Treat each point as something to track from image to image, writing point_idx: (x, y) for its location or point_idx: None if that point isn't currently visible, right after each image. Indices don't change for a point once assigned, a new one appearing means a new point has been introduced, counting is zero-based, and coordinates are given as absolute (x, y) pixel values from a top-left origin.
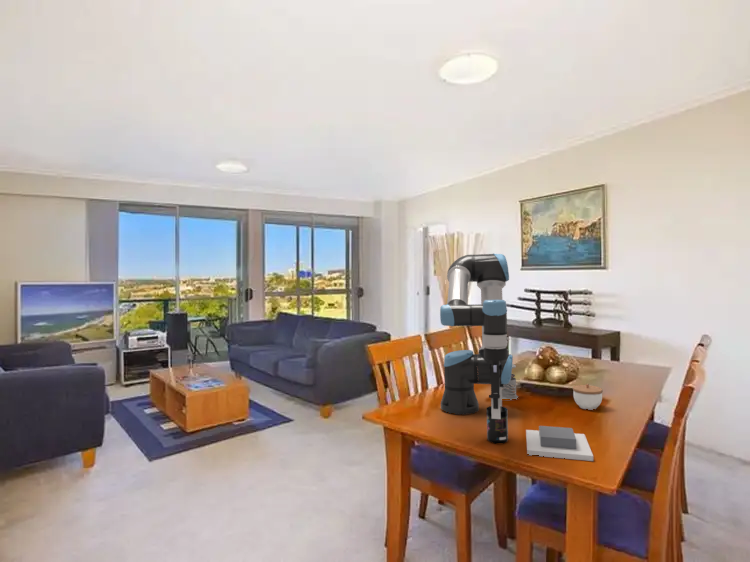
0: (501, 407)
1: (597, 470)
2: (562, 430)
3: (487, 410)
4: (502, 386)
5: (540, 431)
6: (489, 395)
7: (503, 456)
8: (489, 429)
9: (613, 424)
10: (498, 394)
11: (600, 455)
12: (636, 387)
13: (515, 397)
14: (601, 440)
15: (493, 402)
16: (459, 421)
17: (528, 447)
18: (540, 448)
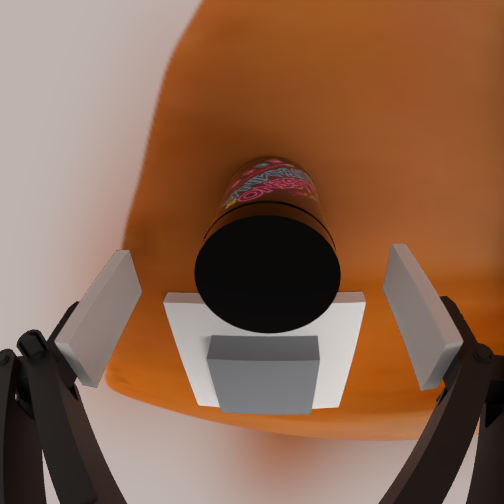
0: (306, 305)
1: (158, 391)
2: (285, 400)
3: (225, 223)
4: (438, 397)
5: (257, 362)
6: (18, 347)
7: (125, 228)
8: (230, 187)
9: (421, 421)
10: (19, 398)
11: None
12: None
13: None
14: (329, 415)
15: (54, 331)
16: (471, 34)
17: (186, 306)
18: (193, 333)
